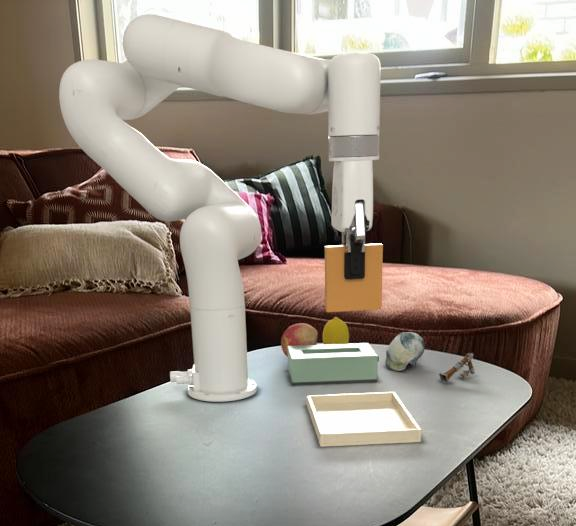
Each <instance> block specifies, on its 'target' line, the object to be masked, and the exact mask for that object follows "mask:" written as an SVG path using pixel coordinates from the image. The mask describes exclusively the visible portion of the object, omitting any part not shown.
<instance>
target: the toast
mask: <svg viewBox="0 0 576 526" xmlns="http://www.w3.org/2000/svg"><path fill="white" fill-rule="evenodd" d="M345 252H346V245H342V244H339V245H338V244H337V245H324V311H325V312H326V313H340V312H341V313H343V312H359V311H376V310H382V307H383V305H382V304H383V303H382V301H383V264H384V263H383V259H384V254H383V253H384V244H382V243H380V242H379V243H365V277H364V278H363V279H345V277H344V253H345Z"/></svg>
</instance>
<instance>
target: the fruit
mask: <svg viewBox="0 0 576 526" xmlns="http://www.w3.org/2000/svg"><path fill="white" fill-rule="evenodd" d="M301 345H318V330H317V329H316V328H315V327H313V326H312V325H310V324H308V323H306V322H305V323H304V322H300V323H299V322H298V323H295V324H292V325H290V326H288V327H287V329H285V331H284V332H283V333H282V336H281V338H280V346H281V350H282V352H283V354H284V355H285V356H286V357H287V358H288V348H287V346H301Z"/></svg>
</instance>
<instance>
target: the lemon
mask: <svg viewBox="0 0 576 526" xmlns="http://www.w3.org/2000/svg"><path fill="white" fill-rule="evenodd" d="M349 331H350V330H349V328H348V325H347V323H346V322H345V321H343V320H342V319H340V318H339V317H337V316H334V317H333V318H332V319H330V320H328V321H327V322H326V324H325V325H324V327H323V332H322V343H323V345H327V344H349V342H350V341H349V340H350V332H349Z"/></svg>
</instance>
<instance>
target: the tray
mask: <svg viewBox="0 0 576 526" xmlns="http://www.w3.org/2000/svg"><path fill="white" fill-rule="evenodd" d="M306 408H307V411H308V413H309V417H310V420H311V423H312V426H313V429H314V432H315V435H316V437H317V441H318V444H319V447H321V448H322V447H323V448H325V447H344V446H361V445H362V446H365V445H366V446H368V445H385V444H408V443H409V444H411V443H421V442H422V432H423V431H422V428H421V426H420V425H419V423H418V422H417V421H416V420H415V418H414V416H413V415H412V414H411V413H410V411H409V410H408V408H407V407H406V406H405V404H404V402H403V401H402V400H401V398H400V397H399V395H398V394H397V393H396V392H395V391H380V392H378V391H377V392H356V393H333V394H332V393H331V394H311V395H309V394H308V395H306Z"/></svg>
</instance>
